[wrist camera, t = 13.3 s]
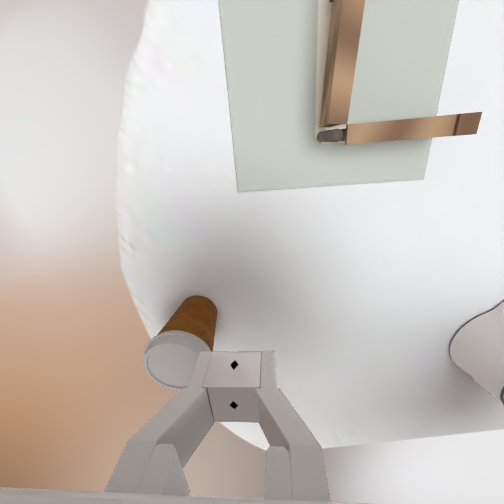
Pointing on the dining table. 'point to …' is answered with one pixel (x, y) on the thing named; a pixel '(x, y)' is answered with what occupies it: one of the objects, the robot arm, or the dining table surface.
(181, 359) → the disposable coffee cup
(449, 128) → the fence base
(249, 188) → the card
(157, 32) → the dining table surface
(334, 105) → the hinged fence panel
